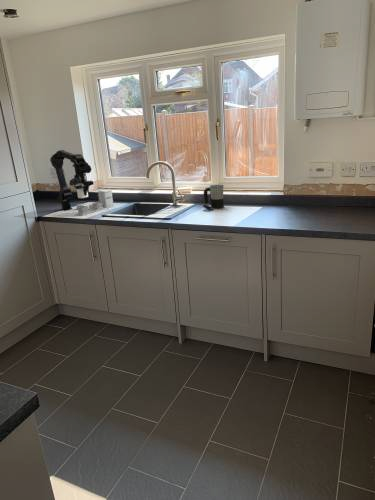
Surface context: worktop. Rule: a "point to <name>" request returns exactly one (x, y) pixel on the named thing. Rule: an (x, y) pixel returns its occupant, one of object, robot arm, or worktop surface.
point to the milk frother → (214, 197)
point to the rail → (84, 209)
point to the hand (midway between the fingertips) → (83, 195)
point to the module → (81, 193)
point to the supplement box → (106, 198)
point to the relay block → (79, 205)
